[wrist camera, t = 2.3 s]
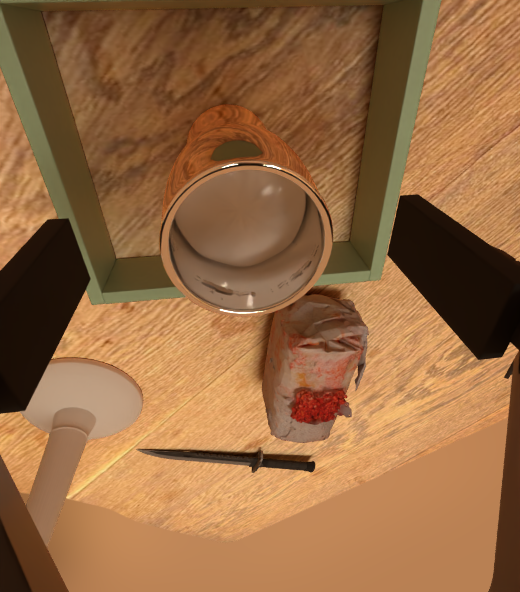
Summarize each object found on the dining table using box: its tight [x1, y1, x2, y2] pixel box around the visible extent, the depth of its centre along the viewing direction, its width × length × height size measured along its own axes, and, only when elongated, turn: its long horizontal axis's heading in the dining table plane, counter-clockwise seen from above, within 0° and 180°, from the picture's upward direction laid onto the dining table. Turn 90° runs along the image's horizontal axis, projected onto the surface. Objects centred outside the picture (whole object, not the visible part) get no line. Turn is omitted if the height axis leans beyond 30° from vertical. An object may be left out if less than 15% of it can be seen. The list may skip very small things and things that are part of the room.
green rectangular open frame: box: [0, 0, 441, 305], centre depth 23 cm, size 18×22×5 cm
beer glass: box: [159, 104, 333, 317], centre depth 19 cm, size 7×7×15 cm
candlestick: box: [20, 358, 143, 547], centre depth 26 cm, size 13×13×30 cm
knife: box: [138, 450, 315, 473], centre depth 48 cm, size 25×2×5 cm
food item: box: [262, 294, 369, 443], centre depth 33 cm, size 14×8×10 cm, turn 174°
